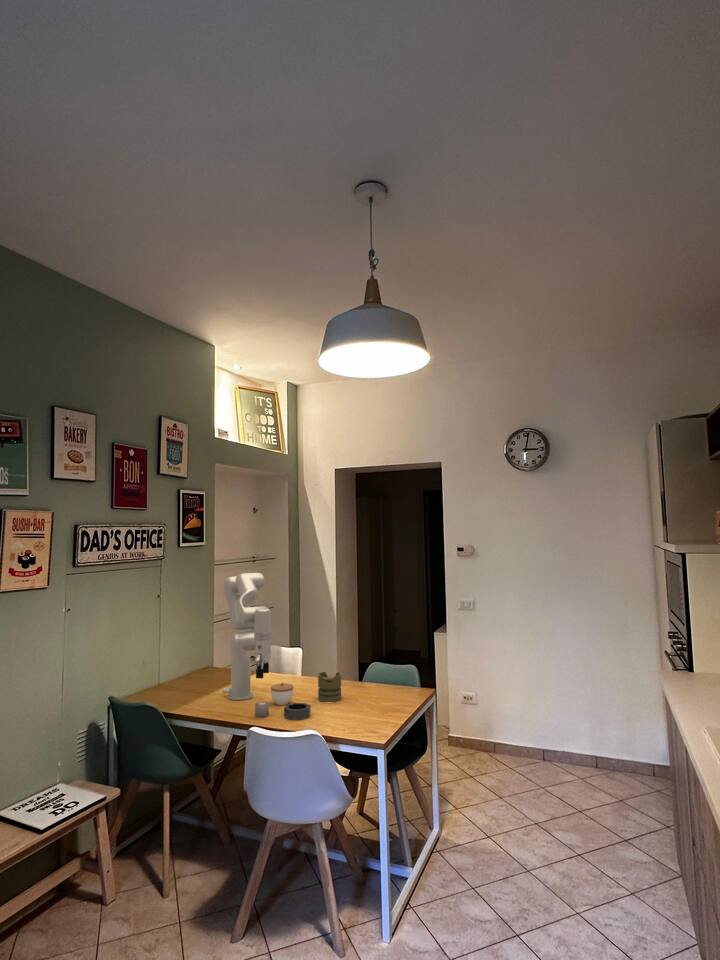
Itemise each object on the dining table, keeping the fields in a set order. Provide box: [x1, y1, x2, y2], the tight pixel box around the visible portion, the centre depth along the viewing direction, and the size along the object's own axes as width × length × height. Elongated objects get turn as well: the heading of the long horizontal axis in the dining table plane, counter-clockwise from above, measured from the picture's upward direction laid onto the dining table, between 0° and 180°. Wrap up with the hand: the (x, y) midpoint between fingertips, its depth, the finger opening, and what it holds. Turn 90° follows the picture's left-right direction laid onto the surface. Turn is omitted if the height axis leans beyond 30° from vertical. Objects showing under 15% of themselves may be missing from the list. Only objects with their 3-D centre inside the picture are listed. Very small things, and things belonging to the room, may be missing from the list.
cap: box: [254, 701, 270, 719], centre depth 244 cm, size 6×6×5 cm
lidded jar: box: [270, 682, 294, 706], centre depth 263 cm, size 11×11×9 cm
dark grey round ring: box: [283, 702, 312, 721], centre depth 243 cm, size 11×11×4 cm
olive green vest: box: [317, 671, 342, 703], centre depth 268 cm, size 11×12×11 cm
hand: (262, 675), depth 246 cm, fingers open, 9 cm apart
